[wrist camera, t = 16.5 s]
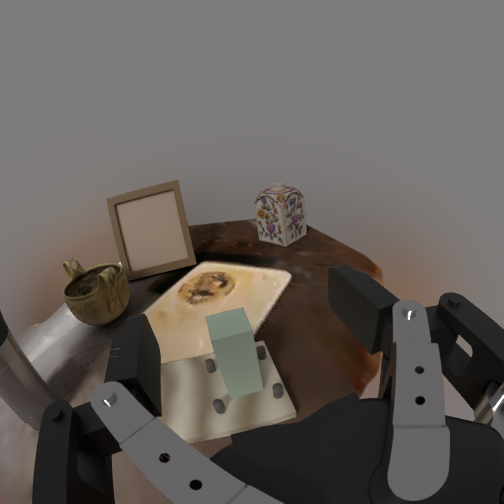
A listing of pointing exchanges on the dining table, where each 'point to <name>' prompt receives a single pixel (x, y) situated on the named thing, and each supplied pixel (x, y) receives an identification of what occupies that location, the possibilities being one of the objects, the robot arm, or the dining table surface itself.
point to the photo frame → (151, 230)
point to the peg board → (219, 399)
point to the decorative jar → (280, 215)
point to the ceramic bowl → (96, 292)
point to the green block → (235, 352)
